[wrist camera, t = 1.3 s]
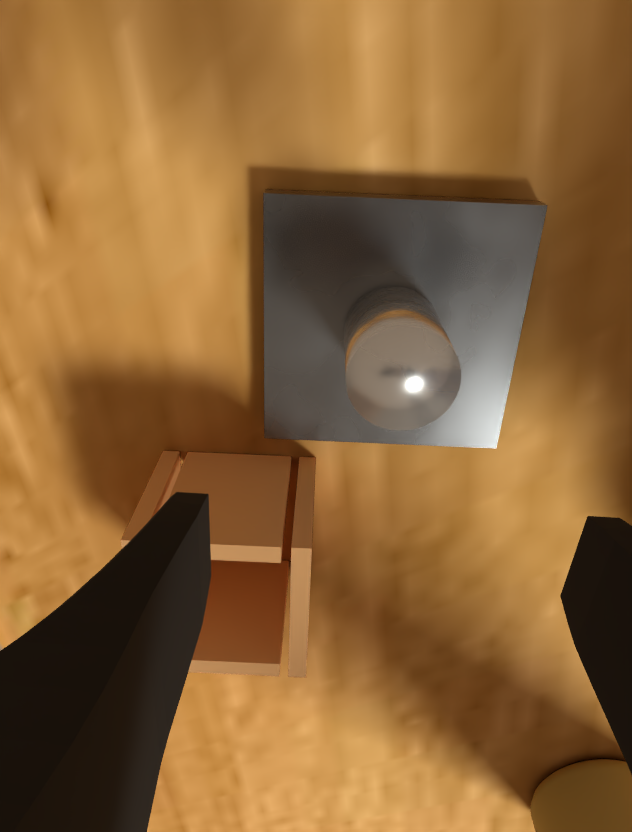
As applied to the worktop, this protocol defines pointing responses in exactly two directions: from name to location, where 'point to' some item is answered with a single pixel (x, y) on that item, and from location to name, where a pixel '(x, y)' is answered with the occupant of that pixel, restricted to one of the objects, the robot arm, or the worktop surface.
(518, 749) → the worktop surface
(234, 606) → the brown hollow box
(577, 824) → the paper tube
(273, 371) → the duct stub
